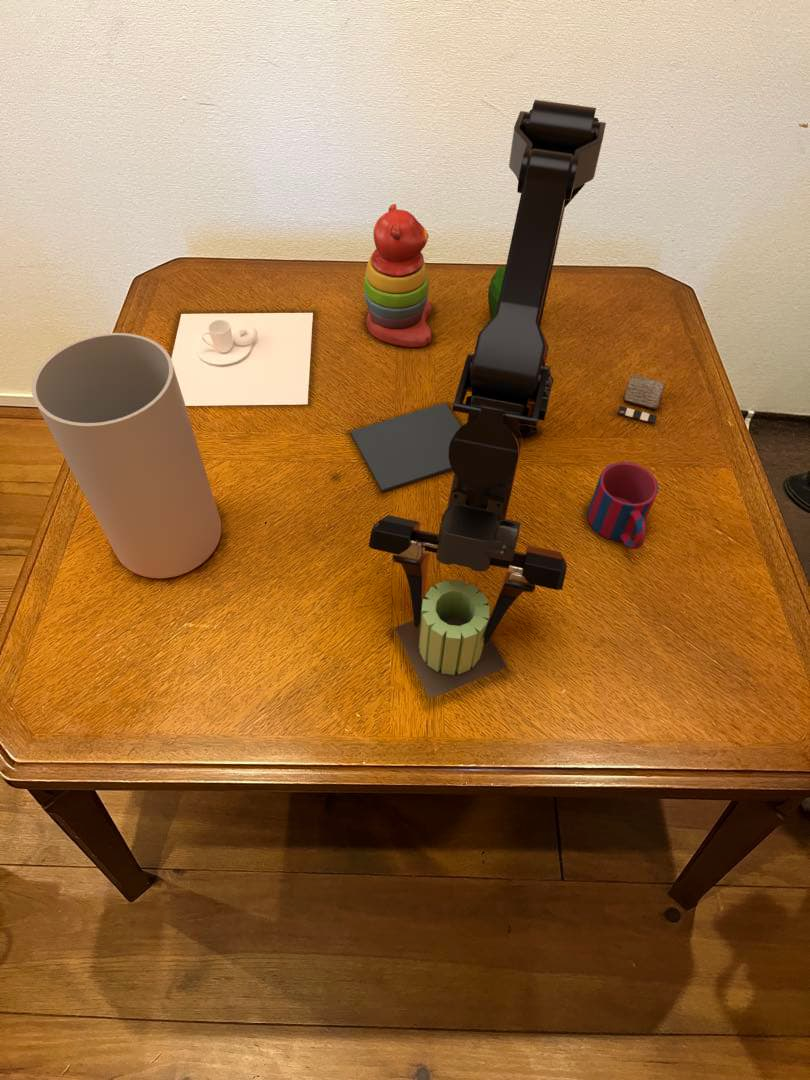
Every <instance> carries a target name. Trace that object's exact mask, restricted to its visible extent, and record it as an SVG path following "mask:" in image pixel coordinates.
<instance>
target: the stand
mask: <svg viewBox="0 0 810 1080" xmlns="http://www.w3.org/2000/svg"><path fill="white" fill-rule="evenodd" d="M444 622H445V623H447V624H448V625H455V626H461V625H464V624H463V622H462V621H461V620H460V619H458V618H456V617H449V618H447V619H446V620H444ZM420 624H421V622H420ZM394 629H395V631H396V633H397V635H398V638H399V640H400V641H401V644H402V646H403V648H404V650H405V652H406V654H407V656H408V659H409V660H410V662H411V664H412V666H413V668H414V670H415V672H416V674H417V677H418V679H419V680H420V683H421V685H422V687H423V688H424V690H425V693H426V695H427V697H428V699H429V700H431V699H434V698H437V697H439V696H441V695H443V694H445V693H448V692H451V691H454V690H455V689H458V688H461V687H463V686H466V685H468V684H470V683H472V682H475V681H478V680H480V679H483V678H485V677H488V676H490V675H492V674H494V673H497V672H500V671H502V670H504V669H507V668H508V666H507V664H506V662H505V661H504V658H503V657H502V655H501V653H500V652H499V650H498V648H497V646H496V644H495V643H494V641H493V639H492V637H491V638H490V640H489V641H488V643H487V644H485V643H484V644H483V649H482V653H481V655H480V659H479V660H478V661H477V663H476V664H475V665H474V667H473V668H472V667H470V670H468V671H466V672H463V673H461V674H457V672H456V670H455V675H450V674H442V673H441V671H442V668H441V669H440V670H439V672H437V671H435V670H434V669H432V668H431V667H429V666H428V665H427V664H428V661H427V662H424V660H423V658H422V656H421V654H420V649H419V639H420V626H419V627H418V628H417V627H415V626H414V619H413V620H410V621H408V622H405V623H402V624H400V625H398V626H395V627H394Z"/></svg>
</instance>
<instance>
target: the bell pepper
mask: <svg viewBox="0 0 810 1080" xmlns="http://www.w3.org/2000/svg"><path fill="white" fill-rule="evenodd" d="M505 268H506V266H498V268H497V269H496V270H495V272H494V274H493V276H492V277H491V279H490V283H489V285H488V290H487V301H488V302H487V303H488V310H489V311H488V312H489V319H490V320H491V319H492V318H493V317H494V316H495V315H496V310H497V306H498V301H499V297H500V292H501V287H502V282H503V278H504V273H505Z"/></svg>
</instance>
